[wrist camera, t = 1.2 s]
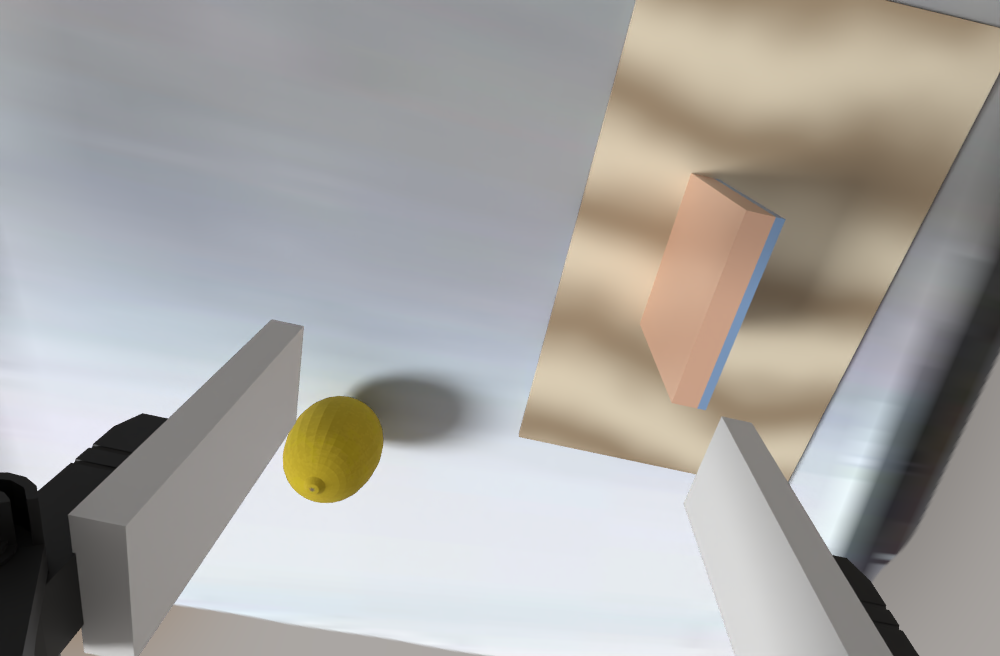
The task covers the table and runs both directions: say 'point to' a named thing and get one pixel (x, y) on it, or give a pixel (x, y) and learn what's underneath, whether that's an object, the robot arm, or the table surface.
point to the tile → (706, 285)
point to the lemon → (332, 449)
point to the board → (769, 181)
